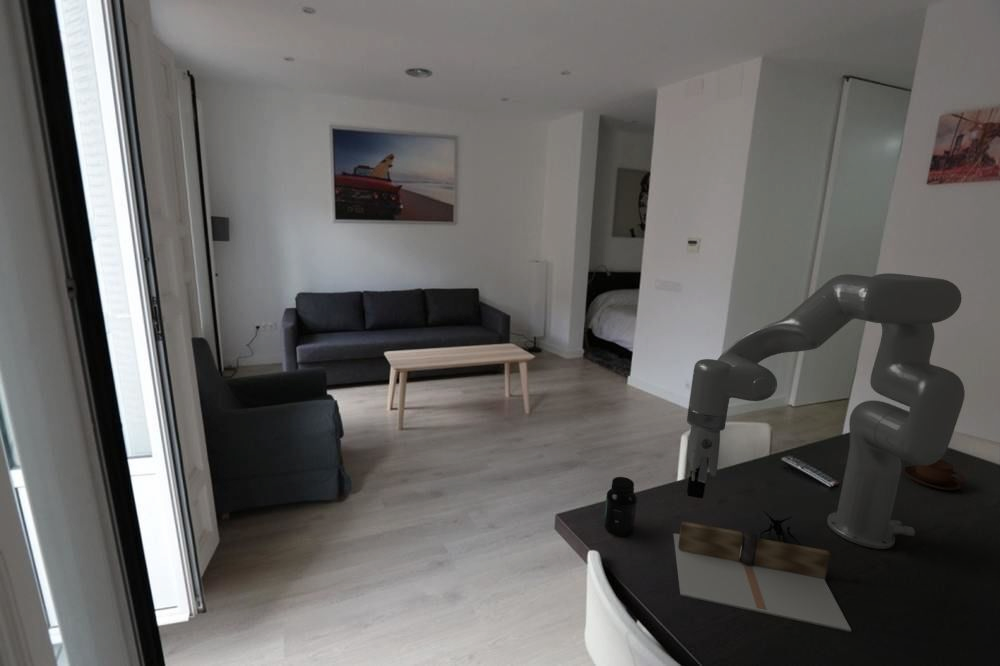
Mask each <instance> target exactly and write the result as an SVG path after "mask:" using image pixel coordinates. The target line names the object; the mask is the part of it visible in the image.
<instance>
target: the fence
mask: <svg viewBox="0 0 1000 666" xmlns="http://www.w3.org/2000/svg"><path fill="white" fill-rule="evenodd" d="M741 546H742V550H741V556H740V561H741V563H743V564H744V565H747V566H751V565H757V566H762V567H767V568H772V569H777V570H783V571H788V572H793V573H798V574H804V575H809V576H814V577H819V578H825V579H826V576H827V571H828V566H829V561H830V556H831V554H830V552H829V551H828V550H825V549H821V548H815V547H810V546H806V545H805V546H804V545H800V544H792V543H790V544H789V542H788V543H787V542H785V543H784V542H782V541H781V542H780V541H776V540H772V539H769V540H768V539H764V538H762V539H761V538H758V534H757V533H756V532H754V531H751V530H745V531H743V536H742V543H741Z"/></svg>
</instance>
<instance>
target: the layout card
mask: <svg viewBox="0 0 1000 666" xmlns="http://www.w3.org/2000/svg"><path fill="white" fill-rule="evenodd" d="M679 536H680V533H673V542H674V551H675V559H676V561H675V562H676V569H677V576H678V577H677V578H678V585H679V593H680V594H679V595H680V596H682V597H686V598H690V599H695V600H699V601H700V600H701V601H705V602H709V603H714V604H718V605H722V606H727V607H733V608H736V609H740V610H741V609H743V610H747V611H750V612H755V613H761V614H765V615H770V616H775V617H779V618H784V619H789V620H794V621H798V622H802V623H806V624H807V623H808V624H812V625H816V626H822V627H826V628H831V629H836V630H839V631H840V630H841V631H844V632H848V633H852V628H851V626H850V625H849V623H848V621H847V619H846V618H845V616H844V613H843V612H842V610H841V608H840V606H839V604H838V602H837V600H836V599H835V597H834V594H833V593H832V590H831V589H830V588H829V586H828V584H827V582H826V577H825V578H819V577H814V576H809V575H804V574H798V573H793V572H788V571H783V570H777V569H772V568H767V567H762V566H757V565H751V566H747V565H744V564H743V563H741V561H740V556H741V550H742V545H741V549H740V556H739V561H738V560H732V559H727V558H722V557H717V556H711V555H706V554H701V553H696V552H690V551H685V550H680V549H679V547H678V544H679Z"/></svg>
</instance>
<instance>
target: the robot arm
mask: <svg viewBox="0 0 1000 666" xmlns="http://www.w3.org/2000/svg"><path fill="white" fill-rule="evenodd" d="M961 303H962V292H961V291H960V289H959V288H958V285H956V284H955V283H953V282H952V281H949V280H947V279H944V278H938V277H927V276H919V275H911V274H904V273H892V272H891V273H879V274H878V273H877V274H875V275H873V276H868V275H867V276H866V275H860V274H850V273H849V274H848V273H847V274H840V275H837V276H834V277H832V278H831V279H829V280H828V281H827V282H825V283H824V284H823V285H822V286H821V287H819V288H818V289H817V290H816V291H815V292H814V293H812V294H811V295H810V296H809V297H808V298H807V299H806V300H805V301H803V302H802V303H800V305H798V306H797V307H796V308H795V309H794V310H793V311H792V312H790V313H789V314H788V315H786V316H785V317H784V318H782V319H780V320H778V321H775V322H772V323H769V324H767V325H764V326H763V327H760V328H758V329H755V330H753V331H751V332H750V333H749V332H748V333H747V334H745V335H743V336H741V338H739V339H738V340H736V341H734V343H733V344H732V345H730V346H729V347H728V348H727V349H725V351H723V353H722V354H720V356H719V357H718V358H717V359H712V358H711V359H710V358H709V359H708V358H705V359H699V360H697V361H696V363H694V368H693V374H692V379H691V380H692V381H691V385H690V386H691V387H690V394H689V401H688V409H687V416H686V423H687V424H688V425H690V432H689V440H688V444H687V445H688V446H687V457H688V462H689V465H690V471H689V476H688V480H687V489H686V493H687V496H688V497H691V498H697V499H703V498H704V497H705V496H704V494H705V488H706V482H707V480H706V479H707V475H708V471H709V474H710V475H711V476H712V477H716V476H717V474H718V464H719V456H720V445H721V444H720V443H721V431H724V430H725V428H726V424H727V423H726V421H727V417H728V410H729V404H730V399H731V398H732V399H737V400H742V401H743V400H744V401H750V402H761V401H765V400H768V399H769V398H771V397H772V396H773V395H774V394H775V393H776V390H777V389H778V381H777V378H776V375H774V373H773V372H772V371H771V370H770V369H768V368H767V367H765V366H763V365H761V364H759V363H760V362H762V361H764V360H765V359H768V358H770V357H772V356H775V355H778V354H779V355H780V354H785V353H794V352H806V351H811V350H816V349H818V348H820V347H821V346H822V345H823V344H824V343H826V342H827V341H829V339H830V338H831V337H833V336H834V335H836V334H837V333H838V332H839V331H840V330H841V329H842V328H844V327H845V326H846V325H847V324H848V323H850V322H851V321H852V320H855V319H857V320H861V321H866V322H870V323H875V324H881V337H880V342H879V346H878V350H877V353H876V355H875V356H876V357H875V359H874V364H873V367H872V370H871V375H870V387H871V389H872V390H873V391H874V392H876V393H877V394H878V395H880V396H882V397H884V398H886V399H889V400H892V401H894V402H896V403H899V404H900V405H904V406H906V407H909V410H906V409H903V408H901V407H898V406H896V405H894V404H891V403H888V402H885V401H880V400H874V399H873V400H871V399H870V400H865V401H862V402H861V403H859V404H857V405H856V406H855V407H854V408H853V409H852V411H851V413H850V417H849V449H848V455H847V461H846V465H845V471H844V476H843V480H842V484H841V485H842V486H841V491H840V495H839V501H838V506H837V511H834V512H831V513H829V514H828V516H827V520H826V521H827V526H828V527H829V528H830V529H831V530H832V531H833V532H834V533H835V534H837V535H838V536H839V537H841V538H843V539H845V540H847V541H849V542H851V543H853V544H856V545H859V546H862V547H865V548H871V549H877V550H879V549H881V550H883V549H891V548H892V547H893V546H894V545H895V542H896V537H895V536H896V535H898V534H899V535H903V536H909V537H914V536H915V533H916V532H915V529H914V527H912V526H907V525H903V523H902V521H900V520H897V519H893V520H892V519H891V518H892V513H893V508H894V505H895V500H896V497H897V492H898V487H899V484H900V478H901V476H902V475H901V474H902V460H903V461H904V462H906V463H908V464H909V463H910V464H912V465H913V466H917V465H918V466H927V465H931V464H934V463H935V462H937V461H938V460H939V459H940V460H941V458H943V456H944V455H945V453H946V452H947V450H948V448H949V445H950V442H951V440H952V438H953V434H954V431H955V428H956V425H957V423H958V420H959V416H960V414H961V411H962V407H963V405H964V401H965V395H966V394H965V386H964V383H963V381H962V379H961V378H960V377H959V376H958V375H957V374H956V373H955V372H953V371H951V370H949V369H947V368H944V367H941V366H938V365H933V364H931V363H930V362H931V360H930V359H931V356H932V352H933V347H934V342H935V336H936V335H935V329H934V325H933V324H936V323H940V322H943V321H946V320H947V319H949V318H951V317H952V316H953V315H955V314H956V312H957V311H958V310H959V308H960V307H961Z"/></svg>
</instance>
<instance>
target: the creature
mask: <svg viewBox="0 0 1000 666" xmlns="http://www.w3.org/2000/svg"><path fill="white" fill-rule="evenodd" d="M764 513H765V514H766V516H767V517H768V518H769V520H770V521H771V523H770V525H769V528H768V529H766V530H763V531H762V532H760V539H763V538H762V535H763V534H764V533H767V532H768V536H769V535H771V532H772V529H773V530H774V531H775V534H776V536H777V541H778V542H782V541H783V543H788V544H791V543H789V541H787V540H785V539H787V537H785V532H784V529H783V527H782V526H783V523H784V522H785V521H788V520H789V519H791V518H793V516H789V517H787V518H784V519H781V520H780V519H774V518H772V517H771V516H770V515H769V514H768V513H767V512H766V511H764ZM786 529H787V534H788V535H789V536H790V537H791V538H793V539H794V540H796V542H797V545H800V542H799V540H798V539H797V538H796V537H795V536H794V535H793V534H792V533H791V532H790V529H791V527H790V526H787V528H786ZM781 537H782V541H781ZM767 540H773V538H771V537H770V538H768V539H767Z"/></svg>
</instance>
